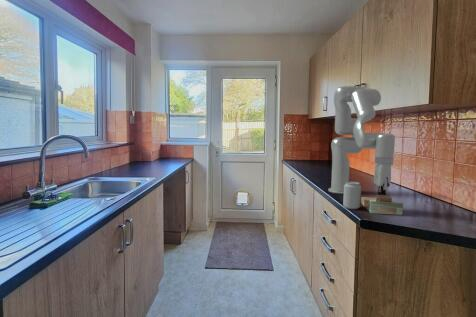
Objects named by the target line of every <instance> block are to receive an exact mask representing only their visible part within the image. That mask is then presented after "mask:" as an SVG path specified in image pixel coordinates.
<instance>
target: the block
mask: <svg viewBox="0 0 476 317" xmlns="http://www.w3.org/2000/svg"><path fill="white" fill-rule="evenodd" d="M375 198H376V202H392V201H393V197H391V196H390V195H389V194H386V195H378V194H376V197H375Z"/></svg>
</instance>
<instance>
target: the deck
mask: <svg viewBox="0 0 476 317" xmlns="http://www.w3.org/2000/svg"><path fill="white" fill-rule="evenodd" d="M376 198H377V197H365V196H361V201H360V204H361V205H362V206H363V207H364V208H365V209H366V210H367V211H368V212H369V214H377V215H380V214H381V215H394V216H395V215H398V216H402V215H403V213H404V212H403V211H404V203H403V202H394V200H392V202H376Z"/></svg>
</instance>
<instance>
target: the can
mask: <svg viewBox="0 0 476 317" xmlns="http://www.w3.org/2000/svg"><path fill="white" fill-rule="evenodd" d="M361 194H362V186H361V182H357V181H349V182H346V184H345V185H344V194H343V196H342V198H343V200H342V201H343V202H342V203H343V204H342V206H343V207H344V208H345V209H349V210H358V209H359V208H360V207H361V199H362V195H361Z"/></svg>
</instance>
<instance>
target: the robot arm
mask: <svg viewBox="0 0 476 317" xmlns="http://www.w3.org/2000/svg"><path fill="white" fill-rule="evenodd" d="M381 101H382V96H381V93H380V91H379V90H378V89H374V88H370V87H366V86H352V85H345V86H339V87H337V88H336V89H335V91H334V94H333V104H334V109H335V110H334V111H335V115H334V131H335V134H337V135H341V136H342V137H341V136H340V137H339V136H338V137H335V138H333V139H332V140H331V143H330V148H331V155H332V156H331V157H332V159H331V160H332V162H331V163H332V164H331V185H330V187H328V192H330V193H333V194H342V195H344V185H345V184H346V182H350V181H349V180H350V159H349V157H348V156H347V155H353V154H355V155H356V154H360V153H361V152H362V151H363V149H365V150H367V149H368V150H369V149H370V150H371V149H373V150H375V155H374V165H375V168H374V173H373V174H374V175H373V184H375V185H376V187H377V195H387V191H388V188H389V187H390V186H391V185H392V184H391V182H392V166H393V165H394V156H395V154H394V153H395V145H396V144H395V143H396V142H395V141H396V136H395V135H394V134H391V133H382V132H365V126H364V124H365V123H367V122H369V121H372V119H374V118H375V117H376V110H375V108H374V107H375V106H378V105H380V103H381ZM349 103H352V105H353V109H354V111H355V115H356V118H354V117H353V118H352V108H351V107H350V104H349ZM343 135H344V136H343ZM349 135H350V137H346V136H349Z"/></svg>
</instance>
